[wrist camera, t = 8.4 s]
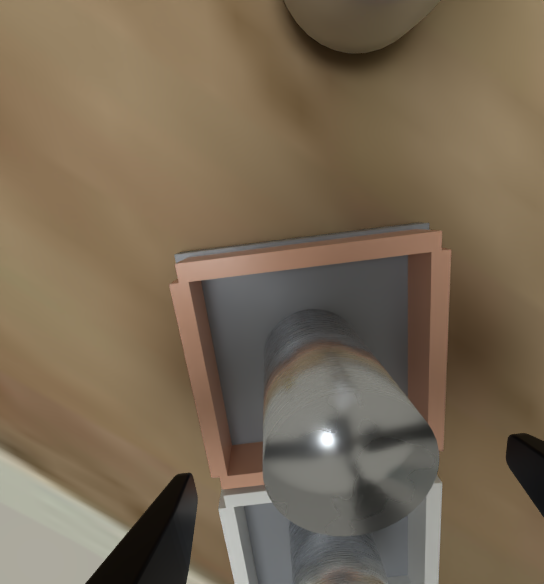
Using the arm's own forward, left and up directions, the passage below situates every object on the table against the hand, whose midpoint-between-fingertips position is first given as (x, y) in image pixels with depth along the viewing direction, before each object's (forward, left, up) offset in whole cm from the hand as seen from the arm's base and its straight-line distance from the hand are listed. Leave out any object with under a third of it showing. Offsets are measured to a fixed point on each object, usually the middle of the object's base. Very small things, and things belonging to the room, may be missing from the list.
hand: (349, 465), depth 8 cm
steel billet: (0, 0, -7) cm, 7 cm away
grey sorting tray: (-6, 0, -8) cm, 10 cm away
